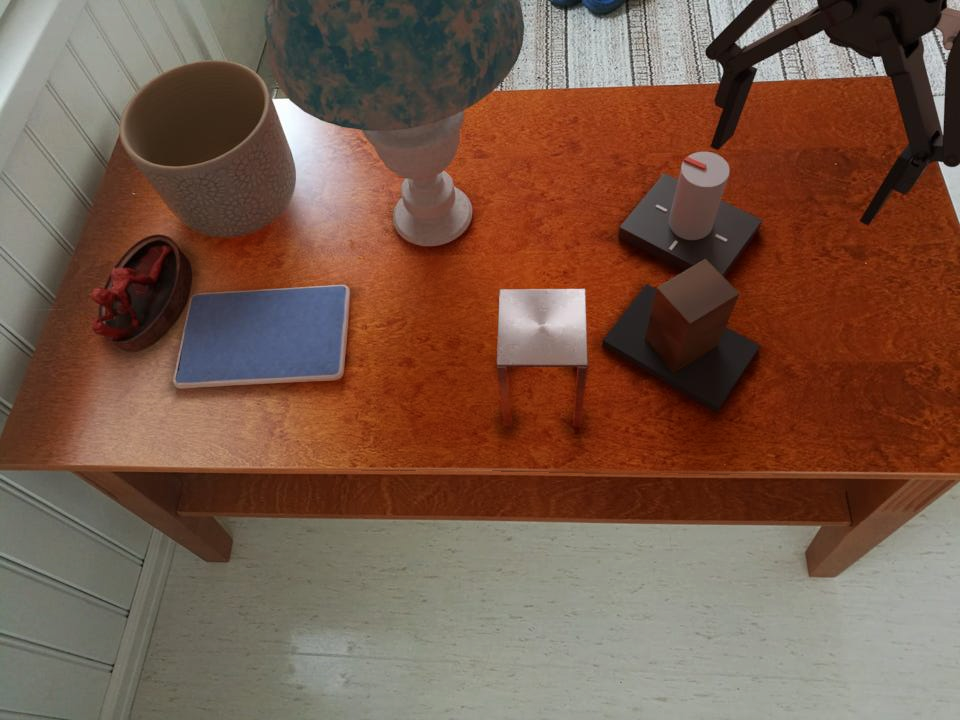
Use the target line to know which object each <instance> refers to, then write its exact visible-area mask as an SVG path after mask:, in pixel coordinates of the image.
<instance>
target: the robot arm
mask: <svg viewBox="0 0 960 720" xmlns="http://www.w3.org/2000/svg"><path fill="white" fill-rule="evenodd" d="M778 1H779V0H751V1H750V2H749V3H748V4H747V5H746V7H744V8H743V10H742V11H740V12H739V14H737V16H736V17H735V18H734V19H733V20H731V22H729V24H727V26H726V27H725V28H724V29H723V30H722V31H721V32H720V33H719V34H718V35H717V36H716V37H715V38H714V39H713V40H712V41H711V42H710V43H709V44H708V46H706V48H705V50H704V52H705V57H706V58H707V59H708V60H710V61H716V62H718V63H719V65H721V69H722V75H721V79H720V82H719V85H718V87H717V90H716V93H715V97H714V106H716V107H717V108H719V109H722V111H721V113H720V117H719V119H718V122H717V124H716V125H717V126H716V128H715V132H714V134H713V138H712V141H711V143H710V146H709V147H710V148H711V149H714V150H717V151H719V150H720V149H721V148H722V147H723V146H725V144H726V143H728V141H729V140H730V139H732V138H733V136H735V132H736V129H737V127H738V124H739V121H740V119H741V116H742V113H743V111H744V108H745V105H746V103H747V100H748V97H749V94H750V91H751V88H752V85H753V83H754V80H755V78H756V74H757V72H758V68H757V67H754V66H755V65H757V64H760V63H761V62H763V61H766V60H767V59H769V58H770V57H772V56H774V55H776V54H779V53H780V52H783V51H784V50H786V49H788V48H790V47H791V46H794V45H795V44H796V45H797V43H800V42H804V41H805V40H808V39H810V38H812V37H813V36H815V35H817V34H819V33H821V32H824V33H825V35H826V37H827V38H829V41H828V43H829V44H832V45H834V46H837V47H840V48H847V49H851V50H853V51H854V52H855V53H857V54H858V55H859V56H861V57H863V58H866V59H867V60H870V61H871V60H872V59H873V58H880V59H881V61H882V65H883V68H884V72H885V74H886V76H887V77H889V78H890V80H891V83H892V87H893V91H894V94H895V98H896V102H897V105H898V108H899V109H898V110H899V113H900V116H901V120H902V123H903V125H904V126H903V127H904V131H905V134H906V137H907V141H908V144H907V145H906V146H905V147H904V149H903V150H902V152H900V154H899V155H898V156H897V158H896V160H895V161H894V163H893V165H892V167H891V168H890V169H889V171H888V173H887V174H886V176H885V178H884V180H883V181H882V183H881V185H880V186H879V187H878V189H877V191H876V192H875V194H874V196H873V198H872V199H871V201H870V202H869V204H868V206H867V208H866V209H865V211H864V212H863V214H862V215H861V217H860V219H859V222H860V223H862V224H864V225H866V226H869V225H871V223H872V222H873V220H874V219H875V218H876V216H877V215H878V214H879V212H880V211H881V210H882V209H883V207H884V206H885V204H886V202H887V201H888V199H889V198H890V196H891V195H892V193H893V191H895V192H898V193H899V194H901V195H907V193H909V192H910V191H911V190H912V189H913V188H914V186H915V185H916V184H917V182H918V181H919V180H920V178H921V177H922V175H923V173H924V171H925V170H926V169H927V167H928V165H929V164H931V163H936V162H937V163H938V162H939V163H943V165H944V166H946V167H948V168H956V167H958V166H959V165H960V10H958V9H954V8H950V7H948V0H816V2H817V5H816V6H815V7H813V8H812V9H810V10H809V11H808V12H807V11H806V13H803V14H802V15H799V16H798V17H797V18H795V19H793V20H791V21H789V22H788V23H786V24H784V25H782V26H781V27H778V28H777V29H775V30H773V31H771V32H770V33H767V34H766V35H763V37H761V38H759V39H756V40H755V41H753V42H751V43H749V44H746V45H744V46H743V47H742V48H741V47H740V46H739V45H738V44H737V43H736V42H738V41H739V40H740V39H741V37H743V36H744V34H746V32H748V31H749V30H750V28H752V27H753V26H754V25H755V24H756V23H757V22H758V21H759V20H760V19H761V18H762V17H763V16H764V15H765V14H766V13H767V12H768V11H769V10H771V8H772V7H773V6H774V5H775V4H776V3H777V2H778ZM935 29H936V30H939V32H940V33H941V34H942V46H943V49H944V50H946V51H949V53H948V55H947V59H946V63H945V74H944V75H945V77H944V101H943V102H944V103H943V105H944V106H943V124H942V125H943V127H942V125H941V122H940V118H939V114H938V110H937V106H936V102H935V98H934V95H933V94H934V93H933V91H932V86H931V83H930V79H929V74H928V72H927V66H926V63H925V60H924V53H925V44H924V42H923V38H922V37H924V36H926V35H927V34H929V33H931V32H932V31H933V30H935ZM942 128H943V130H942Z"/></svg>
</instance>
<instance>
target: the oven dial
mask: <svg viewBox="0 0 960 720" xmlns="http://www.w3.org/2000/svg"><path fill="white" fill-rule="evenodd" d="M730 173H731V168H730V165H729V163H728V162H727V160H726V159H725V158H724V157H722V156H721V155H720V154H717V153H715V152H711V151H697V152H693V153H691V154H689V155H688V156H687V155H685V158H683V161H682V163H681V166H680V171H679V175H678V183H677V187H676V192H675V196H674V200H673V205H672V209H671V213H670V218H669V226H670V228H671V230H672V231H673V233H674V234H676V235H677V236H679V237H680V238H683V239H686V240H698V239H702V238H704V237H706V236H707V235H708V234H709V233H710V232H711V230H712V228H713V225H714V221H715V218H716V215H717V212H718V209H719V206H720V202H721V200H723V196H724V193H725V190H726V186H727V184H728V181H729V177H730Z"/></svg>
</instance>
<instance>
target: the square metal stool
mask: <svg viewBox="0 0 960 720" xmlns="http://www.w3.org/2000/svg"><path fill="white" fill-rule="evenodd" d="M586 295H587V293H586V288H521V289H519V288H514V289H513V288H512V289H511V288H509V289H508V288H506V289H503V288H501V289H499V290H498V315H497V316H498V317H497V340H496V341H497V342H496V345H497V346H496V371H497V378H498V388H499V394H500V404H501V411H502V412H501V413H502V419H503V427H504V428H511V427H512V426H513V418H512V407H511V395H510V387H509V386H510V385H509V376H508V368H577V369H576V381H575V392H574V403H573V404H574V405H573V415H572V416H573V417H572V427H573V428H582V421H583V411H584V401H585V393H586V385H587V384H586V383H587V374H588V365H589V364H588V334H587V333H588V329H587V297H586Z"/></svg>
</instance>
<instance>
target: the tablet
mask: <svg viewBox="0 0 960 720" xmlns="http://www.w3.org/2000/svg"><path fill="white" fill-rule="evenodd" d="M350 303H351V289H350V288H349V286H347V285H346V284H330V285H328V284H327V285H315V286H300V287H299V286H298V287H297V286H296V287H280V288H265V289H263V288H262V289H248V290H234V291H232V290H231V291H219V292H218V291H216V292H199V293H195V294H192V296H191V297H190V298H189V302H188V307H187V312H186V317H185V322H184V326H183V331H182V336H181V340H180V345H179V350H178V355H177V359H176V364H175V369H174V373H173V378H172V383H173V385H174V387H175V388H177V389H180V390H184V389H196V388H197V389H199V388H211V387H212V388H213V387H229V386H247V385H266V384H285V383H286V384H287V383H306V382H307V383H308V382H329V381H338V380H341V379H342V377H343V376H344V373H345V363H346V353H347V342H348V331H349V320H350V307H351V306H350Z"/></svg>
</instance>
